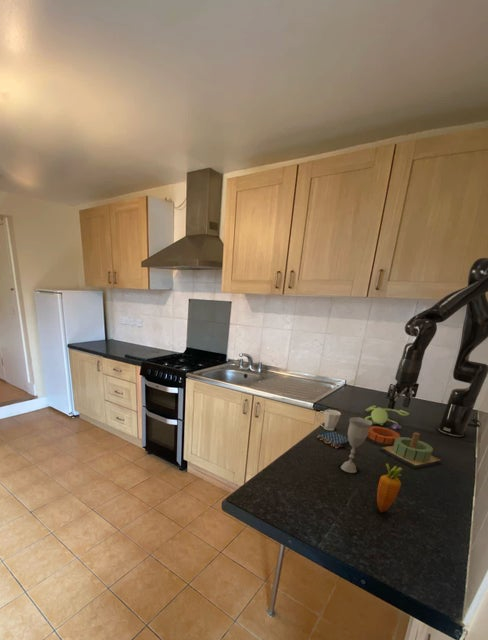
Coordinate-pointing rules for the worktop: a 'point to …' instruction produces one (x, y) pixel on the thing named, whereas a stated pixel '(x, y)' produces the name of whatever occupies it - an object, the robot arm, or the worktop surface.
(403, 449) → the green ring
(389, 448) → the ring stand
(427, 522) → the worktop surface
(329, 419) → the cup
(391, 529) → the worktop surface
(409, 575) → the worktop surface
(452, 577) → the worktop surface
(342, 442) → the woven mat
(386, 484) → the carrot
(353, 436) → the chalice
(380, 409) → the figurine
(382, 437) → the orange ring
